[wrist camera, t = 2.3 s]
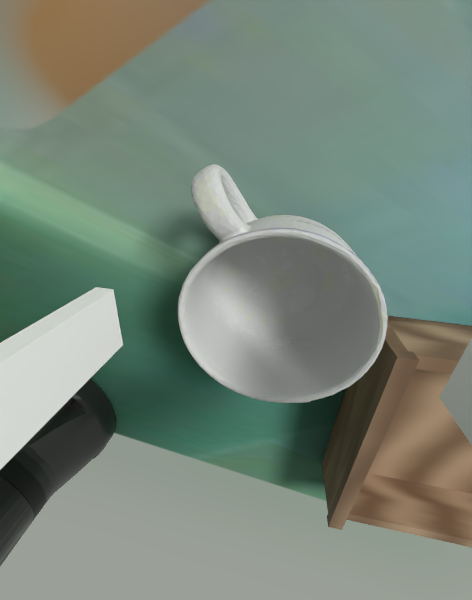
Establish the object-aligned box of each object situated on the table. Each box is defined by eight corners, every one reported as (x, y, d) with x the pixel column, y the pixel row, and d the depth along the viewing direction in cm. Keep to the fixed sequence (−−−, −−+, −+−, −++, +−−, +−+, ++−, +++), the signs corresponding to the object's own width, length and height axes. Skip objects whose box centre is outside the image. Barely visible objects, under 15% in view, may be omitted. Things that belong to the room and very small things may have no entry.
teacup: (357, 325, 21) (395, 402, 14) (232, 344, 24) (210, 415, 17) (333, 133, 16) (372, 98, 9) (177, 187, 19) (111, 194, 12)
